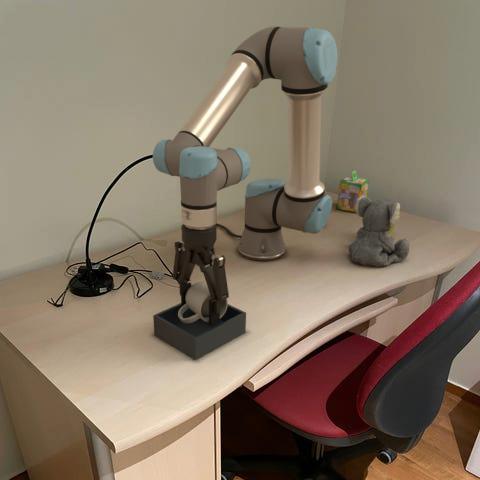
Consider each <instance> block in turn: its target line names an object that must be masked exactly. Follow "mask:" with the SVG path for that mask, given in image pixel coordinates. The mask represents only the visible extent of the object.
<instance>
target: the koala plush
mask: <svg viewBox="0 0 480 480" xmlns="http://www.w3.org/2000/svg"><path fill="white" fill-rule="evenodd" d="M356 202H357V204H356V205H355V207H356V208H355V211H356V212H355V214H357V216H358V217H360V218H362V220H361V221H362V227H360V228H359V229H358V231H357V232H356V236H355V238H356V240H353V241H352V242H351V243H350V244H349V246H348V249H347V250H348V253H349V255H350V256H351V261H353V262H354V263H356V264H359V265H361V266H368V265H370V266H373V267H387V266H389V265H390V264H393V263H394V264H395V263H399V262H402V261H404V260H405V259H407V257H408V256H409V253H410V241H409V240H408V239H407V238H402V239H401V238H400V239H399V240H397V241H396V242H395V243H394V241H393V239H392V236H391V237H389V235H388V231H389V230H390V228H391V227H392V226H394V224H395V225H396V223H398V220H399V218H398V214H399V215H400V214H401V212H400V209H401V203H399V202H393V203H389V202H387V200H384V199H376V200H374V201H372V200H371V199H370V198H369V197H368V196H367V197H365V196H363V197H359V198H358V199H357V201H356ZM397 219H398V220H397ZM396 220H397V221H396ZM395 222H396V223H395ZM394 227H395V226H394Z"/></svg>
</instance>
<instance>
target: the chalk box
mask: <svg viewBox="0 0 480 480" xmlns="http://www.w3.org/2000/svg"><path fill="white" fill-rule="evenodd" d="M369 182H370V180H369V179H367V178H362V177H358V176H357V170H356V169H355V170H353V171H351V176H346V177H344V178H342V179H340V180H339V187H338V189H339V190H338V197H337V207H336V210H340V211H346V212H352V213H356V211H355V208H356V207H355V205H356V204H357V202H356V201H357V199H358V198H359V197H363V196H365V197H368V189H369V184H370V183H369Z"/></svg>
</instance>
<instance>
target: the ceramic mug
mask: <svg viewBox="0 0 480 480" xmlns="http://www.w3.org/2000/svg"><path fill="white" fill-rule="evenodd" d="M216 294H217V293H216ZM209 299H211V295H210V292H209V289H208V286H207V283H206V282H201V281H199V282H196V283H195V282H194V283H193V284H191V287H190V288H189V289H188V291H187V293H186V297H185V300H186V304H185V305H184V306H183V307H181V308H180V310H179V312H178V317H179V319H180V320H181V322H183V323H185V324H189V323H193V322H195V321H197V320H198V319H200V318H201V319H202V320H203V321H205V322H209ZM228 304H229V303H228V298H227V299H225V300H223V301H221V312H220V318H221V317H222V316H223V315H224V314H225V312H226V309H227V305H228ZM189 308H190V309H191V310H192V311H193V312H194V313H195V315H193V316H192V317H189V318H183V316H182V315H183V313H184V312H185V311H186V310H187V309H189Z"/></svg>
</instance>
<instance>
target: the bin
mask: <svg viewBox="0 0 480 480" xmlns="http://www.w3.org/2000/svg"><path fill="white" fill-rule="evenodd" d="M180 308H181V302H180V303H178V304H175V305H173V306H171V307H169V308H167V309H164V310H161V311H160V312H157V313H155V314H153V315H152V318H153V334H154V337H156V338H158V339H160V341H162V342H164V343H166V344H168V345H169V346H171V347H172V348H175V349H176V350H177V351H180V352H181V353H183V354H184V355H185V356H188V357H190V358H191V359H193V360H194V361H197V360H199V359H201V358H203V357H205V356H206V355H208V354H210V353H211V352H214V351H215V350H217V349H219V348H220V347H222V346H225V345H226V344H228V343H230V342H232V341H233V340H235V339H237V338H239V337H241V336H242V335H245V334H246V333H247V331H246V330H247V329H246V328H247V312H246V311H243V310H242V309H239V308H237V307H235V306H233V305H231V304H229V303H228V305H227V309H226V312H225V314H224V315H223V316H222V317H221V318H220V322H218V323H216V324H214V325H212V326H210V325H209V322H205V321H203V320H202V319H201V318H200V319H198V320H197V321H195V322H193V323H189V324H185V323H183V322H181V320H180V319H179V317H178V312H179V310H180ZM193 315H195V313H194V312H193V311H192V310H191V309H188V310H186V311H185V312H184V313H183V315H182V316H183V318H189V317H192V316H193Z"/></svg>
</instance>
